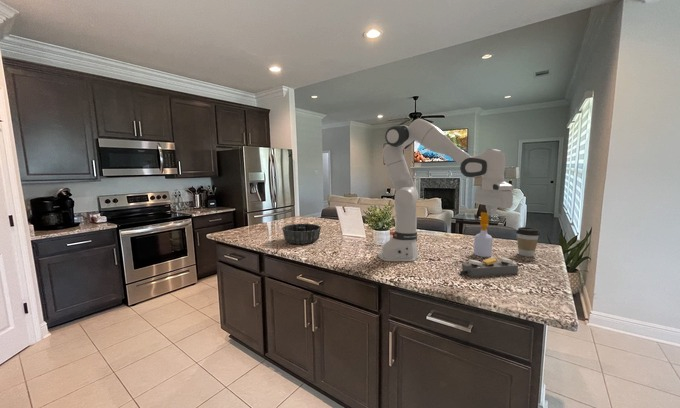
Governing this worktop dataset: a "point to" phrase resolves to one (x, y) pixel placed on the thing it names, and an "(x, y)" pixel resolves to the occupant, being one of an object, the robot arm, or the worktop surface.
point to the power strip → (489, 269)
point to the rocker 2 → (489, 261)
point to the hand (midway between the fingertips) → (491, 215)
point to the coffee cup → (527, 241)
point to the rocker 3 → (505, 260)
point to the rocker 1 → (475, 262)
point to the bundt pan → (301, 233)
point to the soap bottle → (483, 239)
